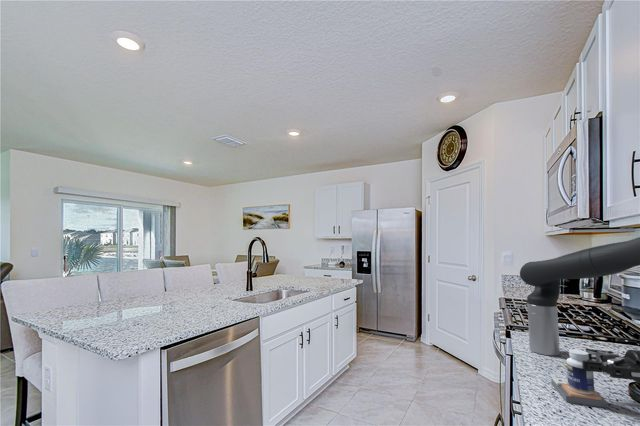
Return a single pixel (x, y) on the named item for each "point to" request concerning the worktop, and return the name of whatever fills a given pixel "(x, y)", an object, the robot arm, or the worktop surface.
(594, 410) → the worktop surface
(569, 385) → the pill bottle
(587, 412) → the worktop surface
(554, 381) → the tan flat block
